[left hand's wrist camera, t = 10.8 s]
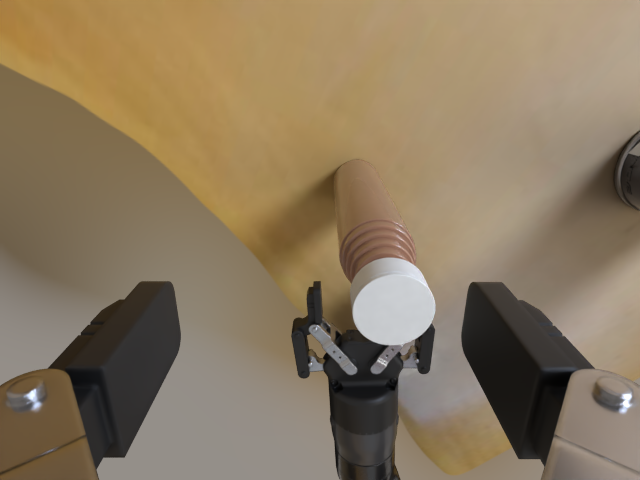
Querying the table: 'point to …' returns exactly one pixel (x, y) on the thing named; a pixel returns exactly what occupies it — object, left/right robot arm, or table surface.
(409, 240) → the bottle
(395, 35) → the table surface
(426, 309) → the cap
